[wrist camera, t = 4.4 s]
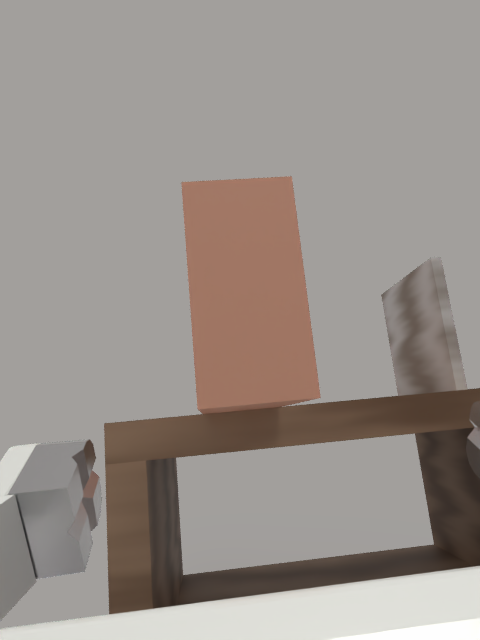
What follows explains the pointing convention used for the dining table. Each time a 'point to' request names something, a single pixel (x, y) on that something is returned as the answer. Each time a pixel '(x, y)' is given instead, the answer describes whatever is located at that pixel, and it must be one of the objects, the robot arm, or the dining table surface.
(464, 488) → the bookshelf
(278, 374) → the salmon pink rectangular block
